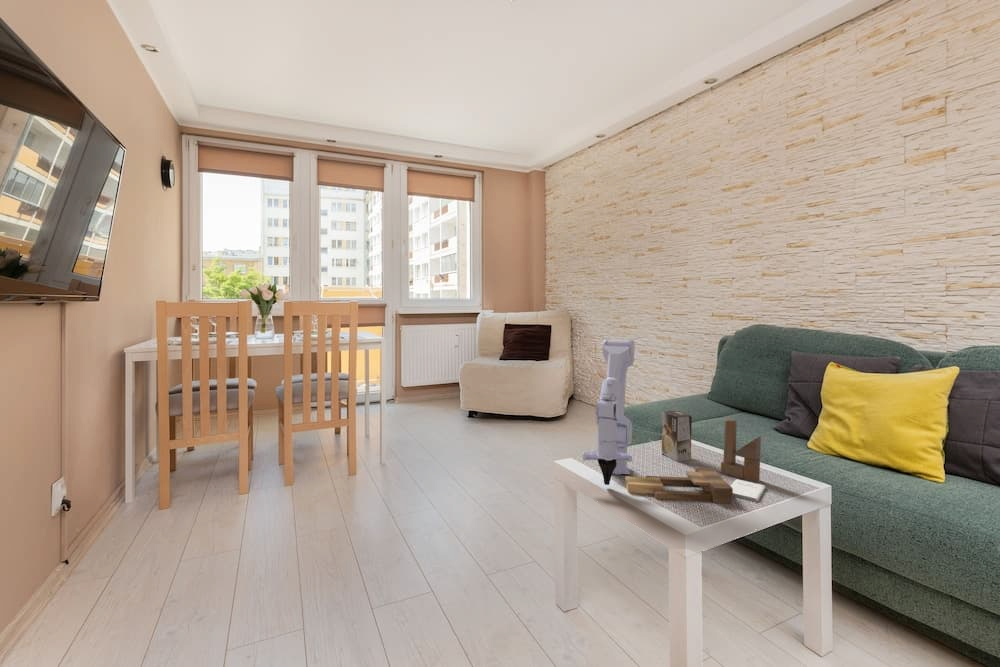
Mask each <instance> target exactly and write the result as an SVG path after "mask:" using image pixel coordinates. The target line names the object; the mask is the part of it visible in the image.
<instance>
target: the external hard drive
mask: <svg viewBox="0 0 1000 667" xmlns="http://www.w3.org/2000/svg"><path fill="white" fill-rule="evenodd" d="M730 486H731V487H732V488H733V493H732V498H733V497H734V498H739V499H741V500H742V499H743V500H746V501H749V502H750V501H751V502H754V501H755V502H756V503H758V502H759V500H760V498H761V497H760V496H762V495H763V494H764V492H765V490H766V485H764V484H762V483H757V482H751V481H748V480H744V479H742V480H741V479H739V478H737V479H735V480H734V481H733V483H732V484H730ZM764 489H765V490H764ZM763 491H764V492H763ZM761 494H762V495H761ZM757 501H758V502H757Z"/></svg>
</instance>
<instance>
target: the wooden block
mask: <svg viewBox="0 0 1000 667" xmlns="http://www.w3.org/2000/svg"><path fill="white" fill-rule="evenodd" d="M723 422H724V423H723V425H724V427H723V456H722V457H723V461H722V462H721V463H720V473H721V474H723V475H727V476H731V477H734V478H737V479H740V480H741V479H742V480H743V481H747V482H751V481H752V483H757V482H758V481H760V477H761V476H760V472H761V470H760V468H761V448H762V447H761V443H762V441H761V439H762V436H758V437H755V438H754V439H752V440H751V441H750V442H748V443H747V444H745V445H744V446H743V447H741V448H739V449H737V423H738V422H737V420H736V419H735V418H725V419H724V421H723ZM736 456H737V457H741V458H744V459H743V464H741V463H739V462H738V463H737V462H736V458H737V457H736ZM756 481H757V482H756Z"/></svg>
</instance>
